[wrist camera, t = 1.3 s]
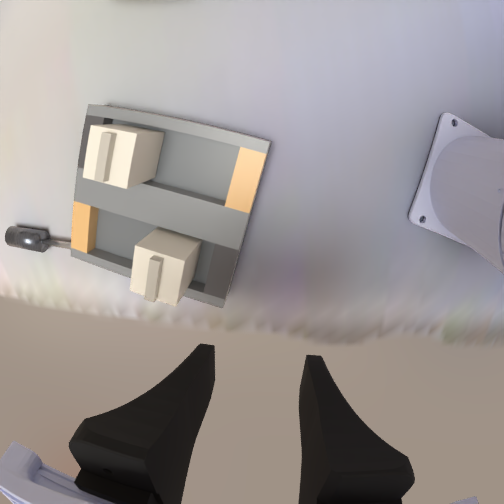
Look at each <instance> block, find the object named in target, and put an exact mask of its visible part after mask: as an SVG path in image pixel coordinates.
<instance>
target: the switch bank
mask: <svg viewBox="0 0 504 504" xmlns="http://www.w3.org/2000/svg"><path fill="white" fill-rule="evenodd" d="M107 124H127V125H132V126H137V127H142V128H147V129H152V130H157V131H162V132H165V134H164V138H163V142H162V147H161V151H160V156H159V161H158V165H157V170H156V175H155V178H153V179H150V180H148V181H145V182H143V183H140V184H138V185H135V186H133V187H130V188H128V189H125V188H121V187H117V186H113V185H110V184H106V183H102V182H98V181H95V180H91V179H87V178H83V171H84V164H85V157H86V150H87V144H88V138H89V133H90V127H91V125H107ZM271 142H272V141H269V140H266V139H262V138H259V137H255V136H251V135H247V134H244V133H240V132H236V131H232V130H228V129H224V128H220V127H216V126H212V125H207V124H203V123H199V122H194V121H189V120H185V119H180V118H175V117H170V116H165V115H160V114H155V113H149V112H144V111H138V110H132V109H126V108H120V107H113V106H106V105H91V104H88V109H87V113H86V119H85V124H84V129H83V135H82V141H81V147H80V153H79V160H78V168H77V176H76V184H75V194H74V205H73V218H72V236H71V256H72V257H75V258H77V259H80V260H83V261H85V262H88V263H91V264H93V265H96V266H99V267H101V268H104V269H107V270H109V271H112V272H115V273H118V274H120V275H123V276H126V277H129V278H131V275H132V266H133V257H134V249H135V245H136V244H137V243H138V242H140V241H141V240H142V239H143V238H145V237H146V236H147V235H148V234H150V233H151V232H152V231H153V230H155V229H156V228H157V227H158V226H159V227H162V228H166V229H169V230H172V231H176V232H179V233H182V234H186V235H189V236H192V237H196V238H199V239H202V244H201V249H200V253H199V258H198V262H197V267H196V271H195V276H194V278H193V280H192V282H191V283H190V285H189V287H188V288H187V290H186V291H185V293H184V295H183V296H185V297H188V298H191V299H194V300H198V301H201V302H204V303H207V304H210V305H214V306H217V307H220V308H223V306H224V304H225V301H226V298H227V295H228V293H229V289H230V286H231V282H232V278H233V275H234V271H235V268H236V264H237V261H238V257H239V253H240V250H241V246H242V243H243V239H244V236H245V232H246V229H247V225H248V222H249V218H250V215H251V211H252V208H253V204H254V201H255V197H256V194H257V190H258V187H259V183H260V180H261V176H262V173H263V169H264V166H265V163H266V159H267V156H268V152H269V149H270V145H271ZM97 248H99V249H97Z"/></svg>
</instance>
